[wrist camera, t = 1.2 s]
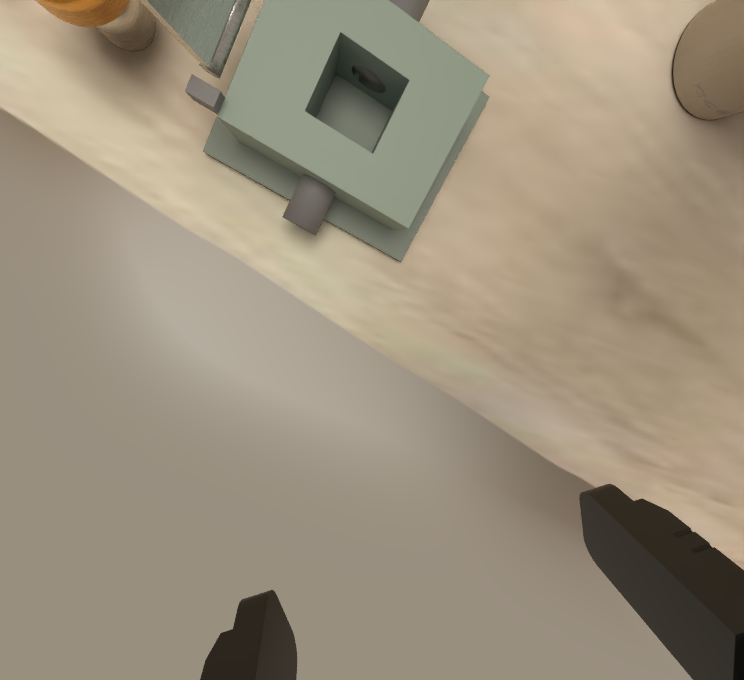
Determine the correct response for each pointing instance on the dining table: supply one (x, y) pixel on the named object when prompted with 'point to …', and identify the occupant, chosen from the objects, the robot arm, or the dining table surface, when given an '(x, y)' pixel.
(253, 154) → the grey-green knobbed device
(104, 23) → the orange domed cylinder
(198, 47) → the bar
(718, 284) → the dining table surface
